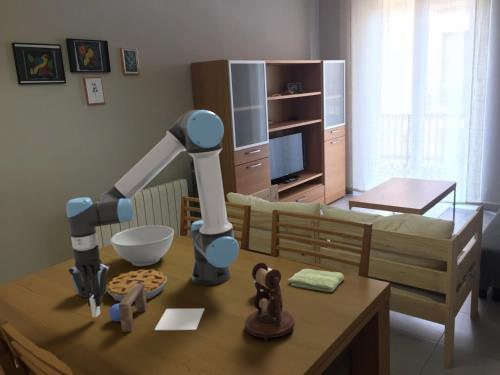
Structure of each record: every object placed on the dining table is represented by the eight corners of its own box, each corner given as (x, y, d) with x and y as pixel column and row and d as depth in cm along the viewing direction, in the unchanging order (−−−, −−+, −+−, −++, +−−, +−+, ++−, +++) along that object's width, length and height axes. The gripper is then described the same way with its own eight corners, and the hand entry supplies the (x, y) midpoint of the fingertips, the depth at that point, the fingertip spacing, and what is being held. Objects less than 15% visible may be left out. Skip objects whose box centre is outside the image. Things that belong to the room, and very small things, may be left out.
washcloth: (301, 272, 170) (301, 265, 169) (345, 280, 161) (345, 272, 160) (286, 286, 159) (286, 278, 159) (332, 295, 150) (332, 286, 149)
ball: (114, 299, 144) (113, 314, 145) (106, 307, 139) (105, 322, 140) (129, 302, 144) (129, 317, 145) (123, 310, 138) (122, 325, 140)
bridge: (147, 308, 149) (144, 283, 147) (131, 331, 135) (127, 304, 133) (138, 308, 149) (135, 283, 147) (122, 331, 135) (118, 304, 133)
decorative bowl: (129, 250, 208) (126, 225, 205) (183, 249, 204) (181, 224, 201) (103, 273, 182) (99, 246, 180) (165, 273, 178) (161, 244, 175)
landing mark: (204, 308, 146) (204, 308, 146) (195, 329, 133) (195, 329, 133) (166, 309, 147) (166, 309, 147) (154, 330, 135) (154, 329, 135)
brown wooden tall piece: (304, 330, 129) (301, 266, 125) (263, 348, 121) (258, 281, 117) (275, 311, 141) (271, 252, 137) (236, 326, 133) (230, 265, 129)
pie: (119, 279, 175) (117, 268, 174) (173, 276, 174) (171, 265, 173) (99, 306, 154) (97, 292, 153) (160, 302, 153) (158, 289, 152)
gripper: (59, 251, 135) (71, 321, 140) (100, 250, 134) (110, 320, 139) (71, 243, 142) (83, 309, 147) (110, 242, 141) (120, 309, 146)
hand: (96, 314), depth 143 cm, fingers closed
